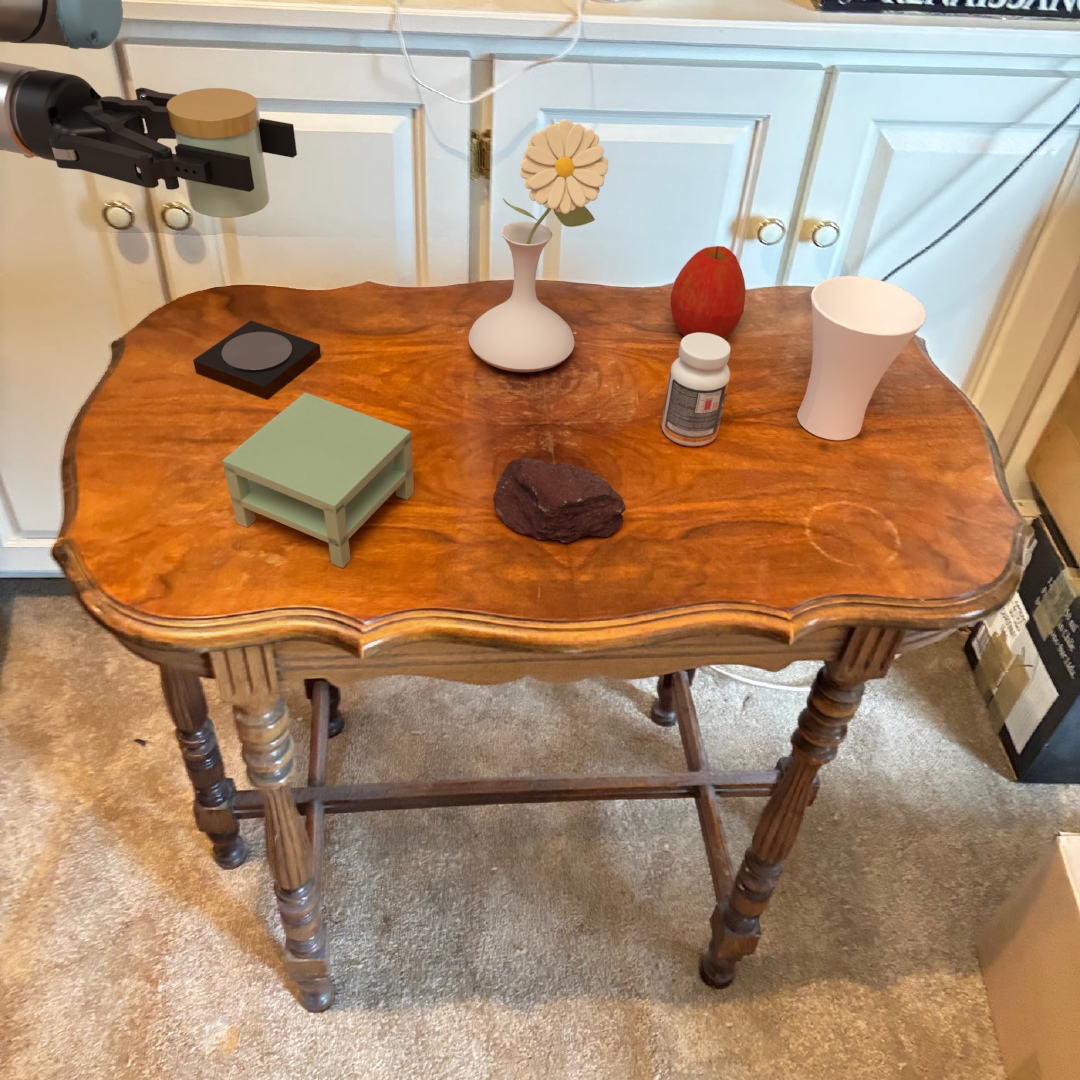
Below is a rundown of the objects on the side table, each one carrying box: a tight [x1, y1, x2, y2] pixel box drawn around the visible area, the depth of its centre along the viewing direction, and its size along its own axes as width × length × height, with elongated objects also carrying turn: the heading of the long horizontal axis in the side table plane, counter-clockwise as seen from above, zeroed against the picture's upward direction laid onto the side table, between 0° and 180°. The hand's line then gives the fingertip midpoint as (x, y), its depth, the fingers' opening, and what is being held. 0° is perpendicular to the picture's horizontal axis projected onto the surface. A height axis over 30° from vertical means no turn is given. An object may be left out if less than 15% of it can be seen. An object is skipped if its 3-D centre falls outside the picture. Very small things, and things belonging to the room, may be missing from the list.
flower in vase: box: [468, 118, 609, 373], centre depth 93 cm, size 13×11×25 cm
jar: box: [167, 87, 271, 219], centre depth 82 cm, size 7×7×8 cm
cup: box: [796, 275, 927, 441], centre depth 91 cm, size 10×10×14 cm
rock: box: [492, 457, 626, 544], centre depth 82 cm, size 11×6×8 cm
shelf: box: [221, 392, 415, 569], centre depth 80 cm, size 11×11×7 cm
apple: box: [670, 245, 747, 340], centre depth 103 cm, size 8×8×11 cm
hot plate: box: [192, 319, 322, 400], centre depth 97 cm, size 9×9×2 cm
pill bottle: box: [661, 333, 732, 447], centre depth 90 cm, size 6×6×10 cm
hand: (271, 157), depth 81 cm, fingers closed on jar, 7 cm apart
